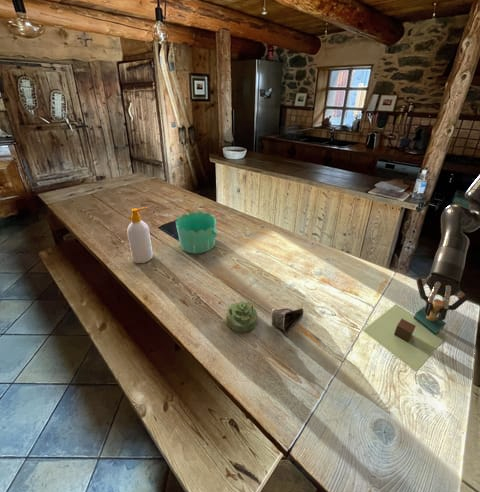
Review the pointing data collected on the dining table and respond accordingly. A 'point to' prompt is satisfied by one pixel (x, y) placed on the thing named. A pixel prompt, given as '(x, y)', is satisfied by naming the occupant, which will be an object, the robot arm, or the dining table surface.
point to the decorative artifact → (241, 316)
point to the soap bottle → (139, 238)
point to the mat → (407, 352)
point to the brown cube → (404, 330)
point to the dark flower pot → (286, 318)
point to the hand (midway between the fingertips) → (433, 317)
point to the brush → (431, 317)
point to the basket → (196, 232)
